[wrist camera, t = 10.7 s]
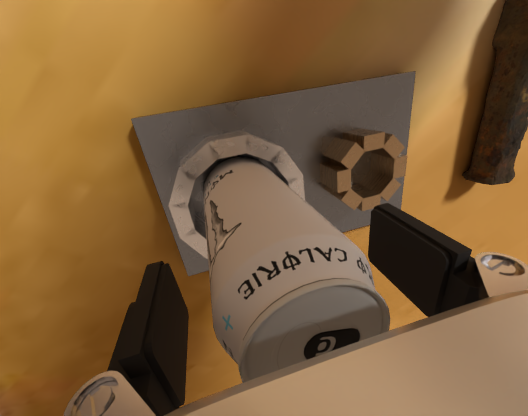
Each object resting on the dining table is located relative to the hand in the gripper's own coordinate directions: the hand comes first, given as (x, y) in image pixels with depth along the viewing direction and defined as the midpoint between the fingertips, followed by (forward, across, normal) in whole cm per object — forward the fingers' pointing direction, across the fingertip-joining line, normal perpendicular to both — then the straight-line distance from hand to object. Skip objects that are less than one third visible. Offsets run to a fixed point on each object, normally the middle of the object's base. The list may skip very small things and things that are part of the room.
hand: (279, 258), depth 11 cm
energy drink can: (+11, 0, +1) cm, 11 cm away
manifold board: (+12, -5, +1) cm, 13 cm away
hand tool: (+13, -27, -3) cm, 30 cm away
